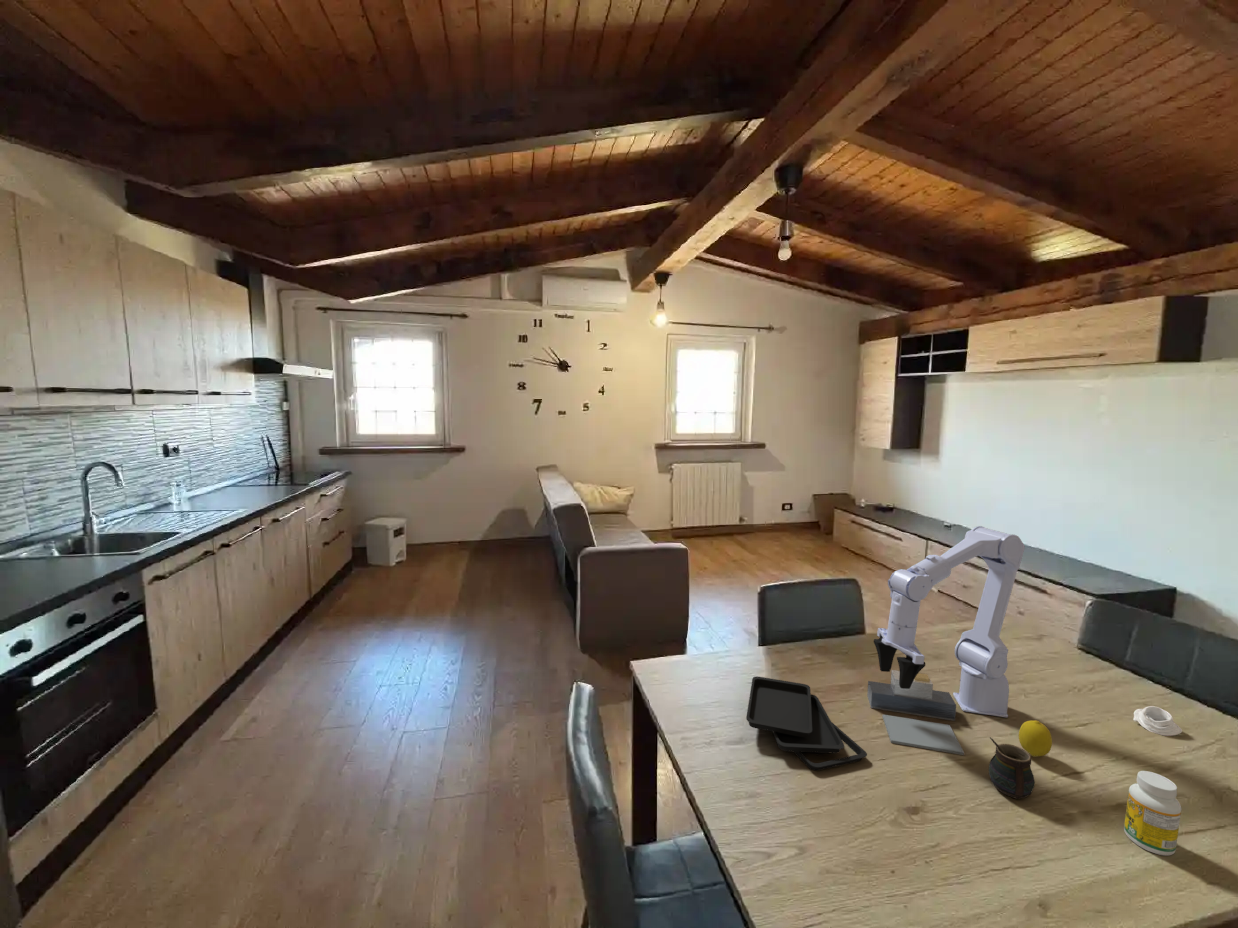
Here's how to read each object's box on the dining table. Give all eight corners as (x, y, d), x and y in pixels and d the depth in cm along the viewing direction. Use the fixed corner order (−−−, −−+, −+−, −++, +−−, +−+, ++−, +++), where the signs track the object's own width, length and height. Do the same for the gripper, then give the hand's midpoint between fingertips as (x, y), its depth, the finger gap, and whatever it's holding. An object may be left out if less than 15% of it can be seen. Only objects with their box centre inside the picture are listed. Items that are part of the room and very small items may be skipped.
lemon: (1043, 750, 114) (1047, 715, 113) (1054, 767, 109) (1058, 731, 108) (1012, 745, 116) (1016, 710, 115) (1022, 761, 111) (1026, 725, 110)
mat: (949, 727, 122) (949, 724, 122) (963, 755, 113) (964, 752, 112) (882, 716, 126) (882, 714, 126) (890, 742, 116) (891, 740, 116)
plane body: (947, 707, 130) (948, 692, 129) (954, 720, 125) (956, 704, 124) (867, 695, 135) (868, 680, 134) (870, 707, 130) (872, 692, 129)
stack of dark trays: (884, 755, 112) (885, 732, 112) (802, 791, 102) (804, 766, 101) (782, 687, 139) (782, 668, 138) (709, 709, 129) (709, 689, 128)
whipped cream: (1179, 732, 122) (1183, 712, 122) (1181, 743, 118) (1187, 723, 117) (1131, 716, 128) (1135, 696, 127) (1132, 725, 123) (1137, 706, 122)
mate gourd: (1041, 806, 98) (1047, 757, 97) (996, 800, 100) (1001, 751, 99) (1021, 780, 105) (1026, 733, 104) (978, 774, 107) (983, 728, 106)
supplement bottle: (1177, 863, 86) (1187, 800, 85) (1124, 842, 90) (1132, 781, 89) (1172, 839, 91) (1181, 778, 90) (1121, 820, 95) (1129, 762, 94)
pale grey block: (926, 690, 130) (927, 672, 130) (931, 700, 126) (933, 681, 125) (890, 684, 133) (891, 667, 132) (894, 694, 128) (895, 676, 128)
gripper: (868, 609, 129) (861, 663, 130) (906, 635, 114) (897, 695, 116) (895, 611, 129) (888, 664, 131) (936, 636, 115) (927, 696, 116)
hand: (894, 679), depth 123 cm, fingers open, 7 cm apart
